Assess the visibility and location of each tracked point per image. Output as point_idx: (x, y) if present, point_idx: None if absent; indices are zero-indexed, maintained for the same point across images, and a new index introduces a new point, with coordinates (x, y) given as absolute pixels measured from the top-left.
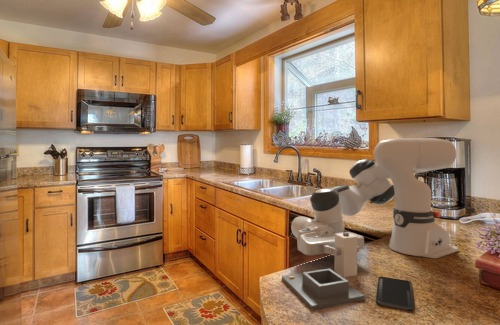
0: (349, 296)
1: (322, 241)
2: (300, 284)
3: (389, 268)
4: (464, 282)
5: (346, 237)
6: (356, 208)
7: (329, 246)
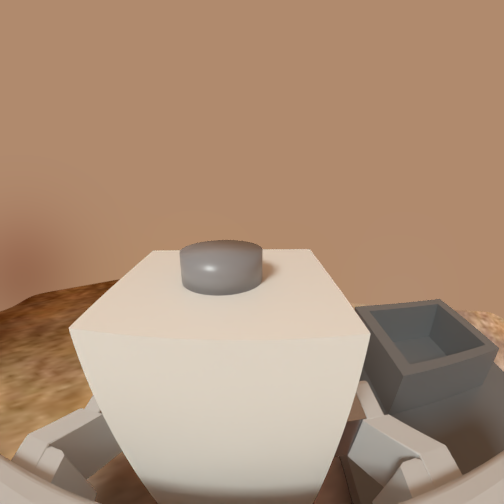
0: None
1: (487, 484)
2: (486, 382)
3: (16, 424)
4: (19, 315)
5: (273, 253)
6: None
7: (403, 441)
